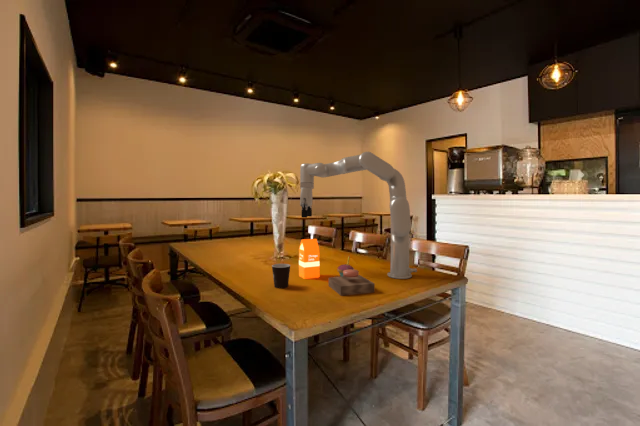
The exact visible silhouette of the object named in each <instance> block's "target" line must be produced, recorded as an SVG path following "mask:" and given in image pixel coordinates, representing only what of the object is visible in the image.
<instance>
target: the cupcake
mask: <svg viewBox="0 0 640 426" xmlns="http://www.w3.org/2000/svg"><path fill="white" fill-rule="evenodd" d="M349 263H350V255H349V256H348V257H347V263H346V264H341V265H339V266H338V267H337V269H336V271H337V272H338V273H339V277H341V276H343V271H344V270H348V269H353V270H355V268H354V267H353V266H352V265H351V264H349Z"/></svg>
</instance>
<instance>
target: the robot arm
mask: <svg viewBox="0 0 640 426" xmlns="http://www.w3.org/2000/svg"><path fill="white" fill-rule="evenodd" d="M360 171H368V172H370V173H371V174H372V175H374V176H376V177H377V178H379V180H382V181H384V182H386V183H387V185H388V192H389V193H388V194H389V213H390V271H389V272H387V274H386V275H387V276H388V277H389V278H391V279H399V280H405V279H411V278H413V277H412V276H413V275H412V273H417V272H418V269H417V268H412V267H410V232H411V229H412V224H411V210H410V203H409V201H408V199H407V198H408V197H407V191H406V183H405V179H404V177H403V175H402V174H401V172H400V171H399V170H398V169H396V168H394V167H393V166H392V164H390V163H388V162H387V161H386V160H383V159H382V158H380V157H379V156H377V155H376V154H374V152H373V153H372V152H371V151H363V152H362V153H361V154H357V155H353V156H352V155H351V156H346V157H343V158H341V159H340V160H338V161H334V162H329V163H322V162H315V163H301V164H300V170H299V173H300V177H299V178H300V179H299V181H300V183H299V185H300V187H299V188H300V195H299V196H300V200H299V206H300V207H301V218H308V217H312V216H313V215H312V214H313V208H312V206H313V189H315V184H314V183H315V177H318V178H328V177H335V176H339V175H345V174H350V173H356V172H360Z"/></svg>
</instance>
